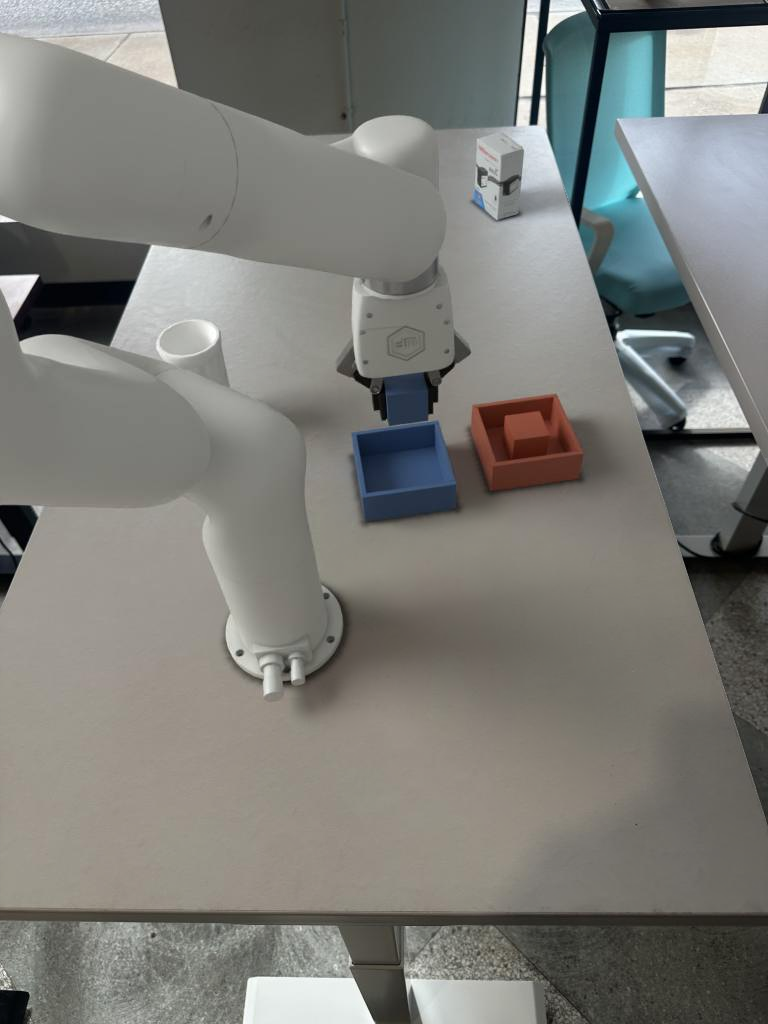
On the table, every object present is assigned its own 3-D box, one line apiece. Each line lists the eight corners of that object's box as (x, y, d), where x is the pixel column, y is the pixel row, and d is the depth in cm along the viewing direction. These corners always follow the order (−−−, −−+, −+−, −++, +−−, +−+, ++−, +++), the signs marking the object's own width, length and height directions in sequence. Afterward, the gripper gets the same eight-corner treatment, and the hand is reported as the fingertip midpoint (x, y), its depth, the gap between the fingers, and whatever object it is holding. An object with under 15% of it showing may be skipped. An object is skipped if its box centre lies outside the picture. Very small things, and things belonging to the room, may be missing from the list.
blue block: (428, 421, 81) (428, 390, 78) (388, 426, 81) (386, 395, 78) (421, 394, 84) (421, 363, 81) (383, 399, 84) (380, 369, 80)
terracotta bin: (578, 478, 91) (584, 453, 88) (490, 491, 90) (492, 466, 87) (552, 418, 98) (556, 393, 95) (470, 430, 98) (472, 404, 94)
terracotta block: (545, 460, 93) (550, 435, 89) (511, 465, 92) (514, 440, 89) (535, 436, 96) (539, 410, 92) (502, 441, 95) (504, 415, 92)
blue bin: (455, 509, 89) (456, 484, 85) (364, 522, 88) (362, 497, 85) (438, 445, 96) (438, 420, 93) (354, 457, 95) (351, 432, 92)
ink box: (472, 201, 138) (475, 136, 129) (495, 195, 139) (499, 130, 130) (496, 221, 132) (500, 155, 123) (519, 214, 134) (525, 148, 125)
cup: (180, 412, 103) (150, 328, 92) (236, 397, 104) (213, 312, 94) (191, 449, 98) (160, 365, 87) (249, 433, 99) (227, 347, 89)
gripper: (312, 298, 66) (334, 442, 80) (496, 274, 66) (486, 421, 80) (306, 254, 70) (328, 397, 84) (478, 232, 71) (472, 378, 85)
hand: (405, 408), depth 82 cm, fingers closed on blue block, 4 cm apart
